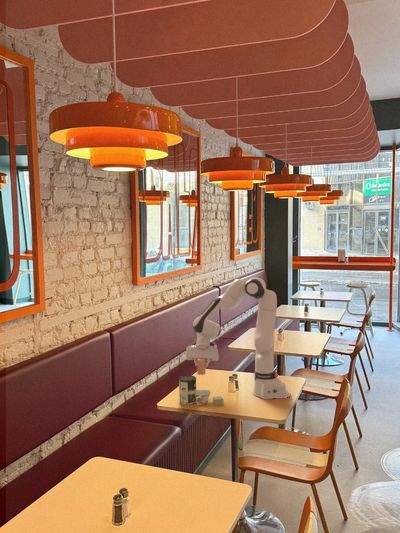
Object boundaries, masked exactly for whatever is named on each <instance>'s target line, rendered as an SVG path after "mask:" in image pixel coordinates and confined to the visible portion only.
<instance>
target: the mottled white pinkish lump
mask: <svg viewBox="0 0 400 533" xmlns="http://www.w3.org/2000/svg"><path fill="white" fill-rule="evenodd" d="M196 400H197V401H196V405H197V406H205V407H206V405H207V404H208V403H209V397H208V396H203V395H200V396H196Z"/></svg>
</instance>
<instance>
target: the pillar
mask: <svg viewBox="0 0 400 533" xmlns="http://www.w3.org/2000/svg"><path fill="white" fill-rule="evenodd" d="M196 362H197V366H196V368H197V370H196V371H197V372H196V373H197V375H202V376H203V375H206V372H207V371H206V367H205V363H207V361H206V358H198V360H197V361H196Z"/></svg>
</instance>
